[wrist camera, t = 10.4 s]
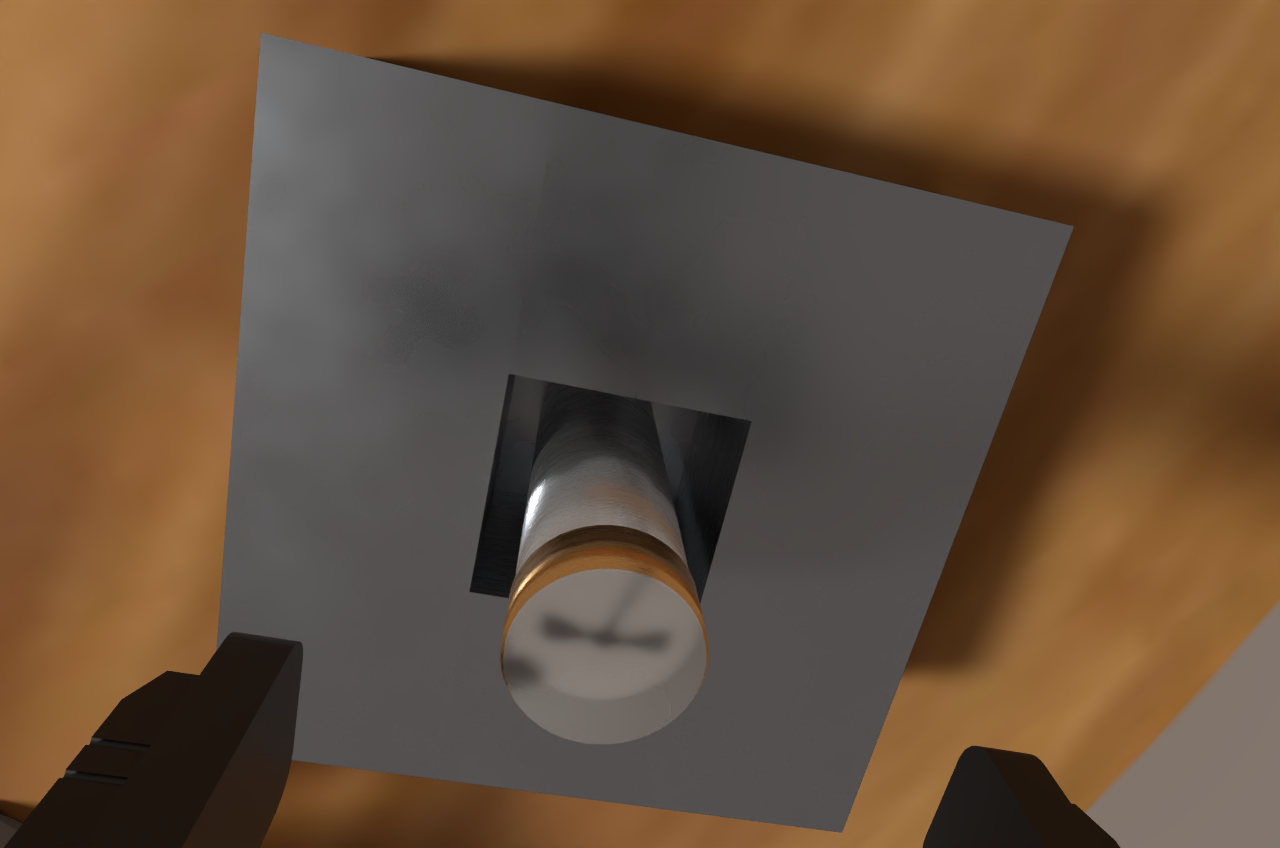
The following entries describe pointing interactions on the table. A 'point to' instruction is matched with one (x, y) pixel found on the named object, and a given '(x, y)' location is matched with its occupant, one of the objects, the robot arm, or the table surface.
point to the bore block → (612, 363)
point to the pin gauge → (601, 578)
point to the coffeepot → (7, 829)
